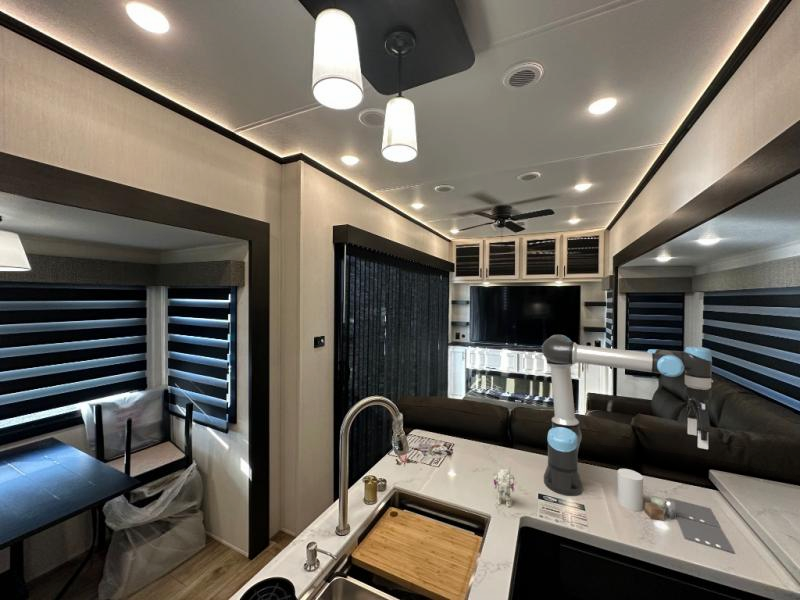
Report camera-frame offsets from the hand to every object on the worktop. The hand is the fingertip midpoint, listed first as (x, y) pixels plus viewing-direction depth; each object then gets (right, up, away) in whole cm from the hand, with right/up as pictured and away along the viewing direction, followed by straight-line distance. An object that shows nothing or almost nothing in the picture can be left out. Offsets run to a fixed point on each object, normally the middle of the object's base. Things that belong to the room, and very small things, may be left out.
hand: (697, 441), depth 122 cm
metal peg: (-15, -26, -5) cm, 31 cm away
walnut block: (-21, -26, -5) cm, 34 cm away
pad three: (-11, -26, -14) cm, 32 cm away
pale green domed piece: (-15, -26, +1) cm, 30 cm away
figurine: (-75, -27, +3) cm, 79 cm away
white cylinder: (-25, -27, +2) cm, 36 cm away
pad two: (-4, -26, -3) cm, 27 cm away
